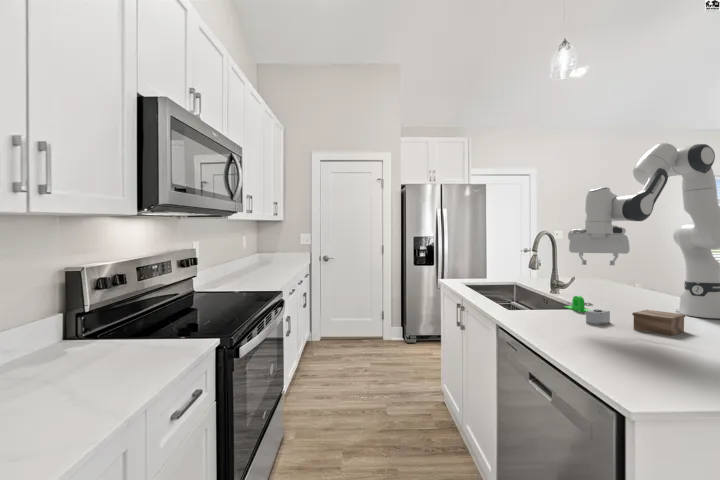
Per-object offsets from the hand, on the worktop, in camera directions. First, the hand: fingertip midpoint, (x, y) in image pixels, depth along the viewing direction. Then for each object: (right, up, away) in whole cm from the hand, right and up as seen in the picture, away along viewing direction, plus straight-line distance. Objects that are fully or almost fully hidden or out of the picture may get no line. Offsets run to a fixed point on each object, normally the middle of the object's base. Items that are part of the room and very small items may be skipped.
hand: (598, 265), depth 157 cm
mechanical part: (+5, -23, +24) cm, 34 cm away
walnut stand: (+15, -23, -12) cm, 30 cm away
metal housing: (0, -23, 0) cm, 23 cm away
